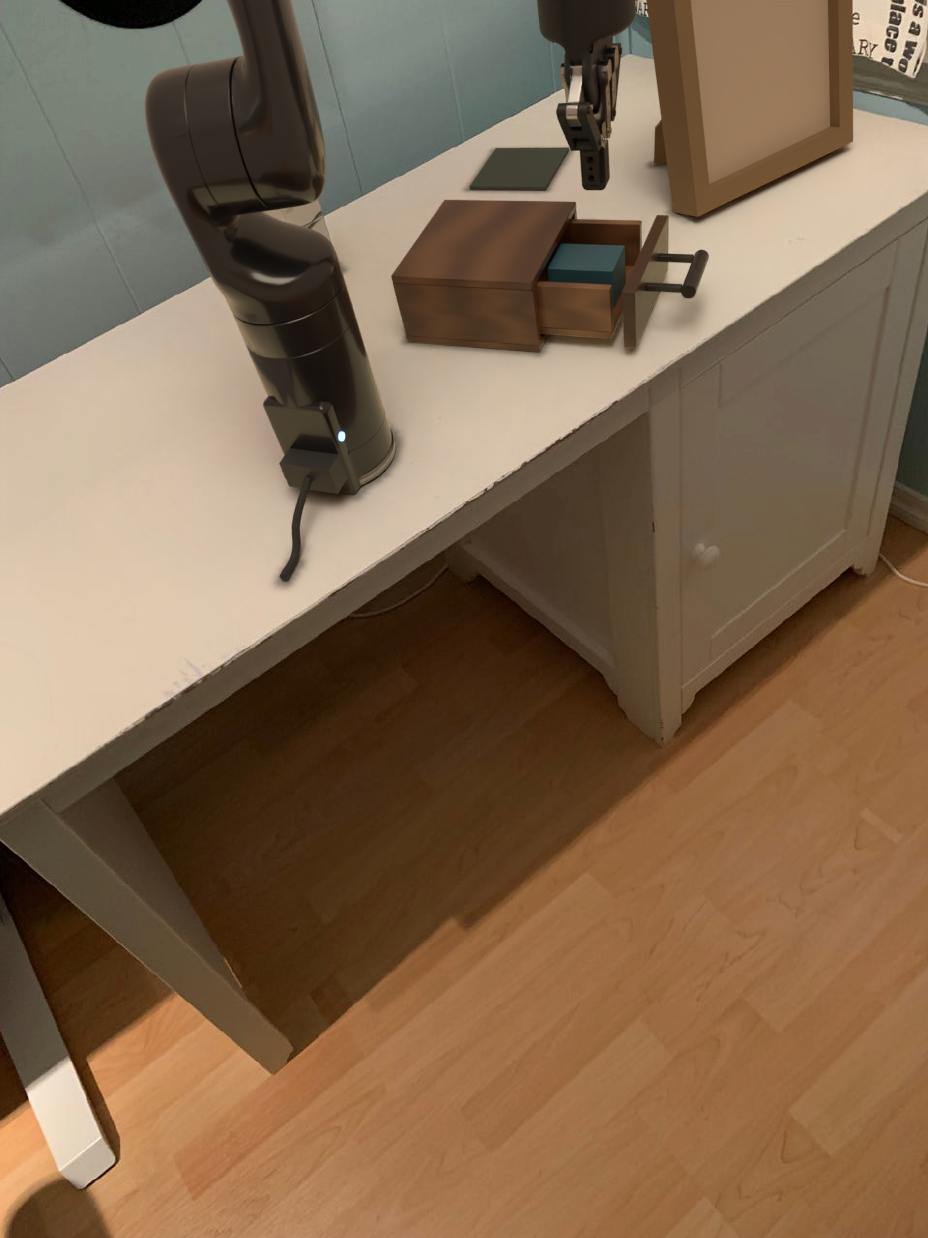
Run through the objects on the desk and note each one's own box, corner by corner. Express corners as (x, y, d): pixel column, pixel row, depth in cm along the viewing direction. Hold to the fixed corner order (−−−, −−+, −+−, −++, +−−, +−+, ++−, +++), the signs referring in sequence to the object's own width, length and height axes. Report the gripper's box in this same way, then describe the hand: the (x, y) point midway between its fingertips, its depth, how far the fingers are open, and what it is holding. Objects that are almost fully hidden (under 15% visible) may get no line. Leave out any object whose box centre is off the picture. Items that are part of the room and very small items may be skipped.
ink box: (343, 270, 103) (312, 169, 94) (308, 290, 102) (274, 189, 92) (305, 248, 108) (272, 150, 99) (271, 267, 106) (235, 169, 97)
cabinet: (581, 270, 94) (576, 201, 89) (540, 352, 87) (531, 282, 81) (457, 264, 99) (444, 199, 94) (407, 342, 92) (390, 275, 86)
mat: (545, 190, 107) (545, 186, 106) (469, 189, 110) (469, 186, 110) (569, 150, 112) (568, 147, 112) (496, 150, 115) (495, 147, 115)
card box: (614, 308, 86) (612, 271, 83) (550, 304, 88) (547, 268, 85) (625, 282, 88) (624, 245, 85) (563, 279, 90) (560, 243, 87)
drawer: (714, 271, 88) (717, 215, 84) (686, 351, 81) (687, 296, 77) (543, 264, 95) (537, 212, 90) (503, 338, 88) (494, 285, 83)
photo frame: (851, 150, 100) (897, -128, 81) (697, 225, 96) (707, -49, 77) (762, 113, 109) (784, -145, 90) (617, 180, 105) (608, -75, 86)
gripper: (613, -15, 61) (621, 225, 74) (651, -80, 68) (652, 149, 81) (510, -6, 63) (536, 224, 77) (558, -70, 70) (574, 151, 84)
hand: (596, 185), depth 79 cm, fingers closed
